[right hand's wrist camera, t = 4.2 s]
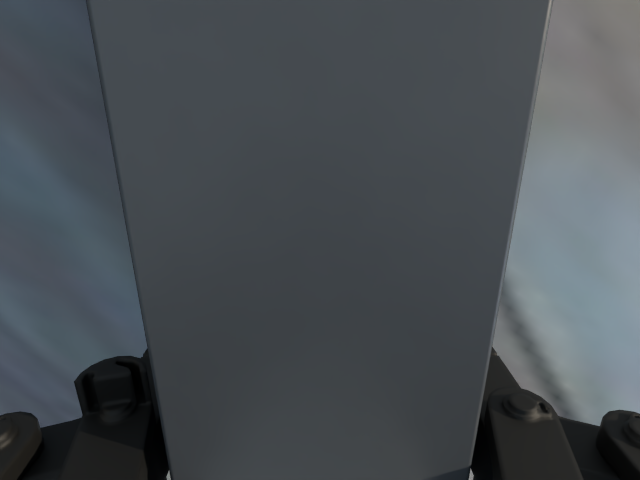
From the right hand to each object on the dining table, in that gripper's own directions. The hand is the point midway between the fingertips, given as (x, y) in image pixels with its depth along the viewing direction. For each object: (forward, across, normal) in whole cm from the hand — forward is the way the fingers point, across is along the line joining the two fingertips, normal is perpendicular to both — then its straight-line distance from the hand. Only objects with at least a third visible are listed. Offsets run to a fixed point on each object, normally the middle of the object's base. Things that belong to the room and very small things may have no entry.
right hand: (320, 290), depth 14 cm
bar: (+1, 0, -8) cm, 8 cm away
